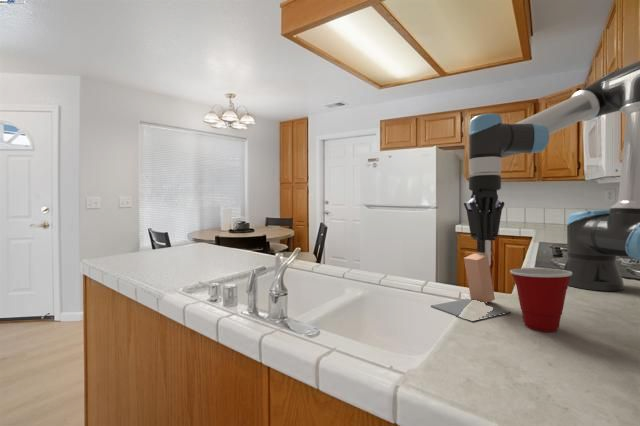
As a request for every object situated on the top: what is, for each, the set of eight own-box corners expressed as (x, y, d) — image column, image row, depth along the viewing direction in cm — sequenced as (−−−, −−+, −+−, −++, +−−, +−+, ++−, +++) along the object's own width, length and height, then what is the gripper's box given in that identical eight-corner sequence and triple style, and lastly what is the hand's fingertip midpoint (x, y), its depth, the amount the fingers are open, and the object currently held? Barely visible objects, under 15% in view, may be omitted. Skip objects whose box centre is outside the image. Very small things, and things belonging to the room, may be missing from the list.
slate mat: (466, 300, 87) (466, 298, 87) (510, 313, 77) (510, 311, 77) (430, 307, 82) (430, 305, 82) (471, 322, 71) (472, 320, 71)
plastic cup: (530, 315, 75) (530, 263, 75) (584, 331, 65) (584, 271, 65) (497, 322, 71) (497, 267, 70) (550, 341, 61) (550, 276, 60)
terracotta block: (481, 295, 88) (474, 253, 87) (494, 299, 85) (487, 255, 83) (471, 300, 87) (463, 257, 85) (484, 304, 83) (477, 260, 82)
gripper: (488, 177, 92) (487, 260, 92) (455, 175, 86) (454, 264, 86) (514, 174, 85) (513, 265, 85) (480, 172, 79) (479, 269, 80)
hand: (484, 264), depth 86 cm, fingers closed
